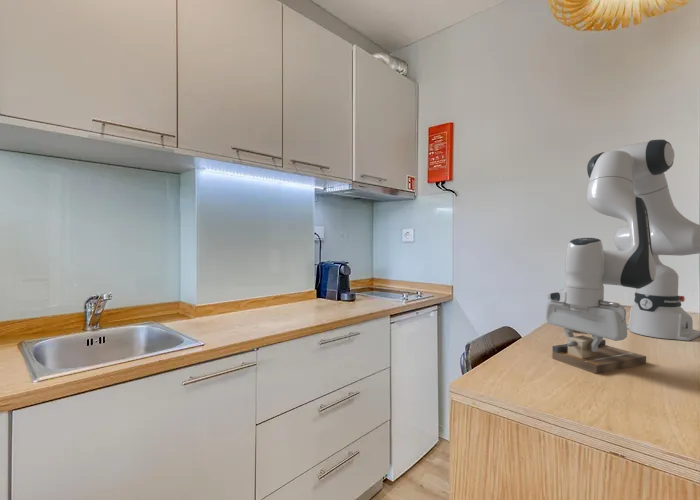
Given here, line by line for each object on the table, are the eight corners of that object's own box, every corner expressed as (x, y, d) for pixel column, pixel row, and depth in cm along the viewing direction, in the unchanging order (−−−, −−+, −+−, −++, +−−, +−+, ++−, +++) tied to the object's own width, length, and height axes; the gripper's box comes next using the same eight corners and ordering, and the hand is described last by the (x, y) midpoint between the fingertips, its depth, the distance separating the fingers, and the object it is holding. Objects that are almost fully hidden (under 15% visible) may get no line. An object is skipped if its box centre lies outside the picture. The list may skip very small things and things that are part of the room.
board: (600, 350, 104) (600, 338, 104) (646, 363, 93) (646, 350, 93) (552, 358, 97) (552, 346, 97) (596, 373, 86) (596, 360, 86)
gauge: (587, 350, 98) (587, 334, 97) (602, 354, 94) (602, 338, 94) (562, 354, 94) (562, 338, 94) (576, 359, 90) (577, 342, 90)
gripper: (634, 303, 85) (632, 358, 85) (557, 291, 104) (556, 337, 104) (617, 305, 83) (616, 362, 83) (542, 292, 102) (541, 339, 102)
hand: (582, 347), depth 94 cm, fingers open, 4 cm apart
